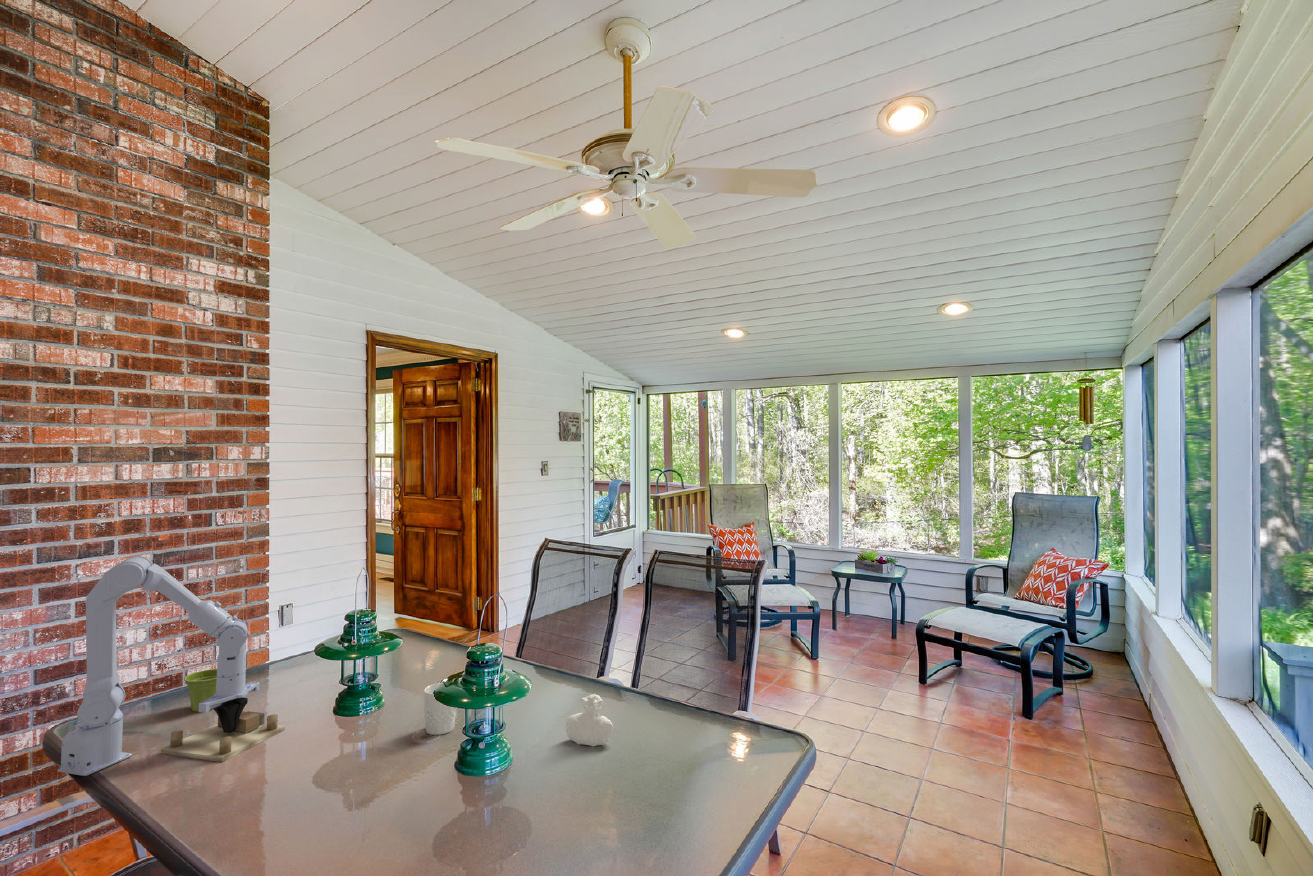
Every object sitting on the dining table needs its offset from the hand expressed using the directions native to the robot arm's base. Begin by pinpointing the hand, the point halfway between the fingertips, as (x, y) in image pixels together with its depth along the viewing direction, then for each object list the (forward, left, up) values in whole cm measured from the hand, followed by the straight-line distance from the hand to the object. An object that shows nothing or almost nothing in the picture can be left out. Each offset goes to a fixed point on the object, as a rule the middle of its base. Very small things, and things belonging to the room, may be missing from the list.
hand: (229, 731), depth 147 cm
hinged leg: (+4, +2, -1) cm, 4 cm away
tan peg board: (-1, 0, -2) cm, 2 cm away
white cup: (+17, -45, -2) cm, 48 cm away
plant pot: (+14, +23, -2) cm, 27 cm away
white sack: (+20, -83, -2) cm, 85 cm away
